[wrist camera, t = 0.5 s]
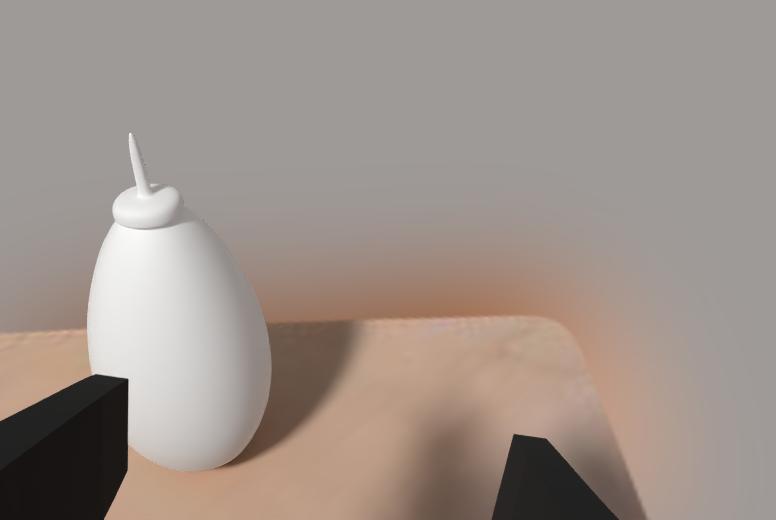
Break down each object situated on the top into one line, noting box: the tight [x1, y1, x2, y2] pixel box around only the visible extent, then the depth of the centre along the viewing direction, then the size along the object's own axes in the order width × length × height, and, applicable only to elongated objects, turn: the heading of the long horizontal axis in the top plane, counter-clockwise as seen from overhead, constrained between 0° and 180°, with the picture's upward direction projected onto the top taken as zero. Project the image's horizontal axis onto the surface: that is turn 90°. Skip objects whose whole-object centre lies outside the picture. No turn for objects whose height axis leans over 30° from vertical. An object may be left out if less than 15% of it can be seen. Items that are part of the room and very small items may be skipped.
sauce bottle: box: [87, 133, 272, 472], centre depth 28 cm, size 8×8×18 cm
